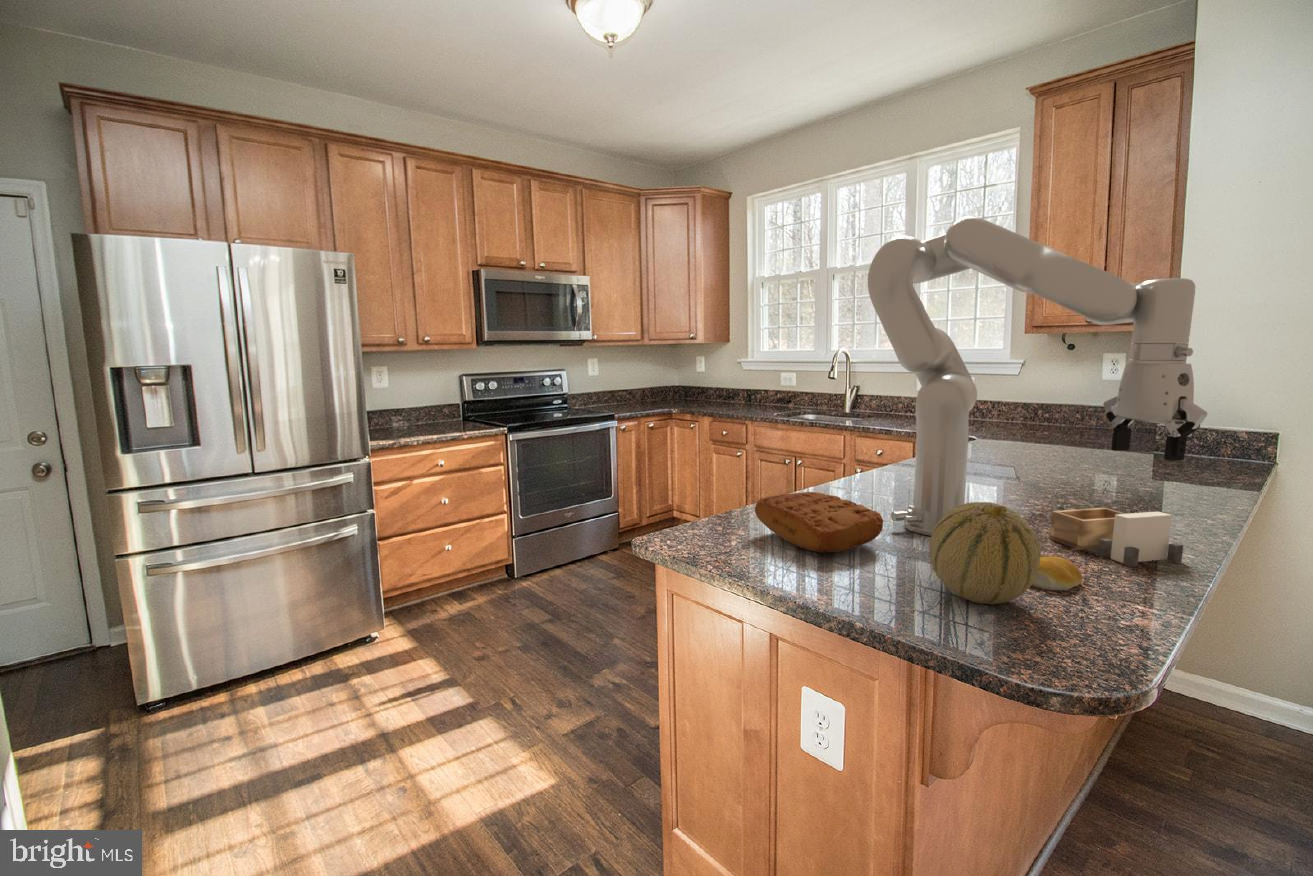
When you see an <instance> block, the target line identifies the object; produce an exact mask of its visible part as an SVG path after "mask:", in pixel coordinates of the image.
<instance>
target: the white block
mask: <svg viewBox="0 0 1313 876" xmlns="http://www.w3.org/2000/svg"><path fill="white" fill-rule="evenodd" d="M1172 518H1173V516H1172V514H1169V513H1165V512H1161V511H1148V512H1147V511H1145V512H1134V513H1133V512H1132V513H1130V512H1129V513H1126V514H1116V515H1115V520H1114V529H1113V539H1112V549H1111V557H1110V559H1111V560H1114V561H1115V562H1116V561H1117V562H1119V563H1121V564H1123V559H1124V550H1125V547H1135V548H1138V549H1139V556H1138V563H1139V562H1152V560H1153V561H1160V560H1159V559H1164V560H1167V554H1168V545H1169V544H1170V543H1169V542H1170V534H1171V526H1172V525H1171V524H1172Z"/></svg>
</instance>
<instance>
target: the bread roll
mask: <svg viewBox="0 0 1313 876" xmlns="http://www.w3.org/2000/svg"><path fill="white" fill-rule="evenodd" d="M1082 582H1083V575H1082V572H1081V571H1080V569H1079V568H1078V566H1076V565H1075V564H1074V563H1073V562H1072V561H1069V560H1067V559H1065V558H1062V557H1059V556H1054V555H1052V556H1050V555H1049V556H1043V557H1042V556H1040V563H1039V567H1038V572H1037V575H1036V577H1035V580H1034V582H1033V584H1032V585H1031V587H1032V586H1033V587H1036V588H1039V589H1042V590H1049V591H1069V590H1070V589H1072V588H1074V587H1075V588H1076V587H1077V586H1079V585H1081V584H1082Z"/></svg>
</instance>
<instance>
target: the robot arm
mask: <svg viewBox="0 0 1313 876" xmlns="http://www.w3.org/2000/svg"><path fill="white" fill-rule="evenodd" d="M970 269H972V270H973V271H976V272H978V273H979V274H982V275H983V276H986V277H988V278H991V279H993V280H994V281H996V282H999V283H1002V284H1004V285H1006V286H1007V287H1010V288H1011V289H1014V290H1017V291H1019V292H1020V293H1021V292H1022V293H1027V294H1030V295H1031V294H1032V295H1034V296H1038V297H1040V298H1042V299H1045V300H1047V301H1050V302H1051V303H1054V304H1057V305H1058V306H1061V307H1063V308H1065V309H1066V310H1069V311H1070V312H1073V313H1075V314H1077V315H1079V316H1082V317H1084V318H1085V319H1086V320H1087V321H1089V322H1090V323H1092V324H1095V325H1100V326H1112V325H1118V324H1128V323H1133V324H1132V333H1131V340H1130V341H1131V344H1130V351H1129V360H1128V362H1126V363H1125V366H1124V368H1123V372H1122V375H1121V378H1120V383H1119V387H1118V391H1117V396H1114V397H1112V398H1110V399H1108V400H1106V401H1104V402H1103V404H1102V405H1103V408H1104V410H1105V413H1106V416H1105V417H1106V419H1107V420H1108V421H1109V422H1110V424H1109V427H1110V428H1112V429H1113V431H1112V439H1111V448H1110V450H1111V451H1113V452H1116V451H1117V452H1119V451H1120V452H1121V451H1123V452H1124V451H1129V450H1130V445H1131V438H1132V428H1131V427H1129V426H1131V424H1133V422H1135V421H1137V422H1145V423H1152V424H1161V425H1162V424H1164V426H1165V427H1166V430H1168V432H1169V434H1170V435H1169V436H1167V437H1166V439H1165V448H1164V456H1163V457H1164V458H1163V459H1164V460H1165V461H1167V462H1175V461H1177V462H1178V461H1183V460H1184V459H1185V454H1186V448H1187V440H1188V437H1192V435H1193V433H1195V431H1198V429H1200V427H1201V425H1202V423H1203V422H1204V421H1205V419H1206V417H1207V416H1208V412H1207V411H1206V410H1204V409H1203V408H1202V407H1200V406H1199V405H1197V404H1195V403H1194V400H1195V399H1194V397H1195V394H1194V393H1195V391H1194V390H1195V388H1194V387H1195V385H1194V384H1195V383H1194V370H1193V365H1192V363H1187V358H1188V357H1191V356H1192V355H1193V353H1194V349H1193V348H1191V347H1189V343H1190V336H1191V335H1190V334H1191V328H1192V320H1193V311H1194V304H1195V295H1196V284H1195V282H1194V280H1192V279H1189V278H1184V277H1183V278H1182V277H1172V278H1171V277H1169V278H1155V279H1150V280H1149V279H1148V280H1145V281H1143V282H1141V283H1139V282H1136V283H1134V282H1133V283H1132V282H1129V281H1127V280H1126V279H1124V278H1122V277H1120V276H1118V275H1115V274H1113V273H1111V272H1109V271H1106V270H1103V269H1101V268H1099V267H1097V266H1094V265H1092V264H1089V263H1087V262H1085V261H1082V260H1080V259H1077V258H1074V257H1072V256H1069V255H1068V254H1064V253H1063V252H1060V251H1058V250H1056V249H1054V248H1052V247H1050V246H1048V245H1045V244H1042V243H1041V242H1038V241H1036V240H1033V239H1031V238H1028V237H1026V236H1024V235H1021V234H1019V233H1017V232H1015V231H1013V230H1010V229H1007V228H1005V227H1003V226H1001V225H998V224H996V223H993V222H991V221H989V220H986V219H985V218H981V217H979V216H964V217H961V218H959V219H957V220H956V221H954V222H953V223H952V224H951V225H950V226H949V227H948V229H947V230H946V233H944V234H941V235H938V236H935V237H931V238H929V239H928V238H927V239H925V240H920V239H918V238H916V237H914V236H908V235H900V236H896V237H893V238H891V239H889V240H888V241H886V242H885V243H883V245H882V246H881V247H880V248H879V249H878V251H877V252H876V254H875V255H874V257H873V259H872V261H871V264H870V266H869V270H868V274H867V290H868V295H869V298H870V300H871V303H872V306H873V309H874V311H875V313H876V314H877V317H878V320H879V321H880V323H881V325H882V327H883V330H884V332H885V334H886V336H887V338H888V340H889V342H890V345H891V347H892V349H893V350H894V351H893V352H895V355H896V357H897V360H898V362H899V364H900V365H901V366H902V368H904V369H905V370H907V371H908V372H911V373H913V374H915V376H916V378H917V380H918V381H919V384H920V386H921V387H920V388H919V390H918V392H917V395H916V400H915V423H916V424H915V425H916V431H915V434H916V435H915V436H916V437H915V438H916V440H915V461H914V462H915V464H914V481H913V482H914V483H913V501H912V502H913V503H912V504H913V505H912V504H911V505H908V508H907V509H905V510H904V511H899V510H898V511H892V512H891V513H890V519H891V521H893V522H900V521H901V522H902V521H903V522H904V523H903V525H904V527H905V528H906V529H907V530H909V531H911V532H913V531H914V532H913V533H916V532H917V533H916V534H920V535H924V536H930V537H931V536H932V532H933V530H934V528H935V526H936V525H937V523H938V521H939V520H940V519H941V518H942V517H943V516H944V515H945V514H946V513H948V512H949V511H951V510H952V509H953V508H955V507H957V506H960V505H962V504H966V501H965V500H966V487H967V473H968V471H967V470H968V456H969V455H968V453H969V452H968V451H969V420H970V419H969V418H970V417H969V416H970V415H969V414H970V412H971V411H972V409H973V408H974V406H975V404H976V402H977V399H978V390H977V387H976V384H975V381H974V379H973V378H972V376H971V374H970V371H969V370H968V369H967V366H966V365H965V362H964V360H963V359H962V356H961V354H960V352H959V351H958V349H957V346H956V345H955V343H954V341H953V340H952V338H951V337H950V336H949V334H948V333H946V332H945V331H944V330H942V329H941V328H938V327H936V326H935V325H934V323H933V322H932V320H931V318H930V316H929V315H928V313H927V310H926V309H925V306H924V303H923V302H922V299H921V298H920V297H919V294H918V293H917V292H916V289H915V287H914V285H915V284H922V283H926V282H929V281H932V280H936V279H939V278H940V279H941V278H944V277H946V276H950V275H955V274H959V273H960V272H965V271H967V270H970Z"/></svg>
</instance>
